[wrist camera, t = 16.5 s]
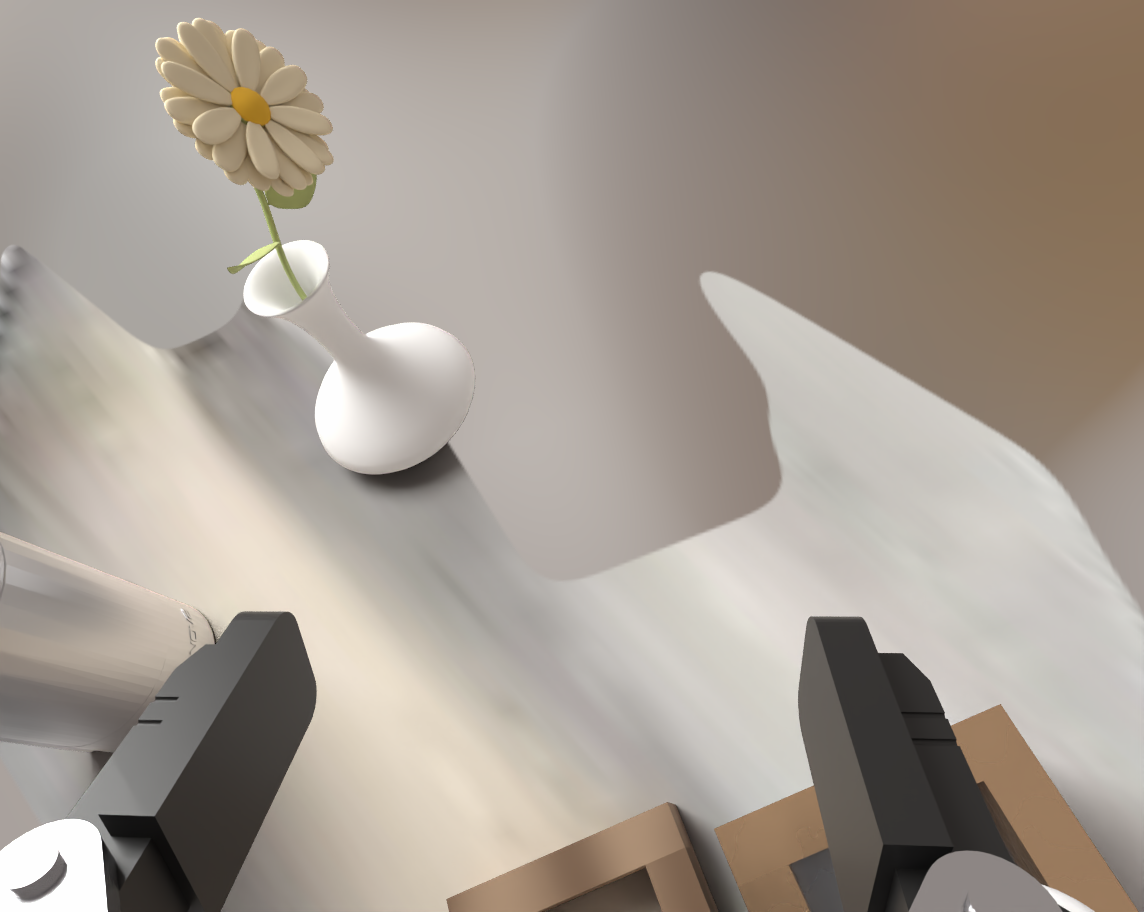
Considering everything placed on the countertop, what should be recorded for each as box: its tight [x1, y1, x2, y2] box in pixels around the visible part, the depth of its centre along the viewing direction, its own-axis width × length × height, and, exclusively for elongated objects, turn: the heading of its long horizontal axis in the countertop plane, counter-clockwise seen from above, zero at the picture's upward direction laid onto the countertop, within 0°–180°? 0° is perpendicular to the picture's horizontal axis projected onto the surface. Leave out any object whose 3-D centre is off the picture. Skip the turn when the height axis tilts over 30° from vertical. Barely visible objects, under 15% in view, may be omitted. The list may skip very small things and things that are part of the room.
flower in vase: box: [155, 18, 475, 474], centre depth 40 cm, size 13×11×25 cm
